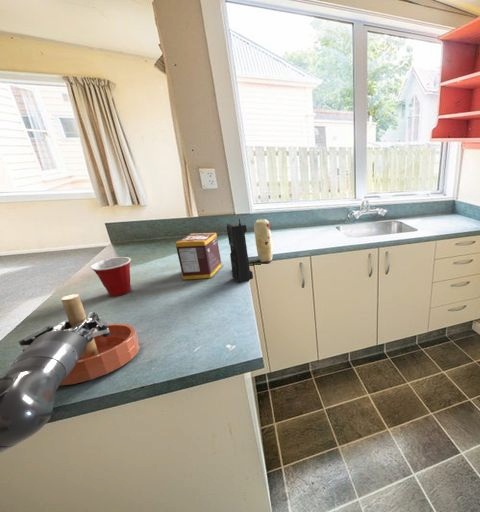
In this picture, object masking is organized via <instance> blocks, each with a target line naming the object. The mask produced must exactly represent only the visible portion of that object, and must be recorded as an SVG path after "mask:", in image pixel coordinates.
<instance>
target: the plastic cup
mask: <svg viewBox="0 0 480 512" xmlns="http://www.w3.org/2000/svg"><path fill="white" fill-rule="evenodd" d="M131 260H132V258H131V257H127V256H116V257H110V258H106V259H102V260H99V261H97V262H94V263H92V264H91V265H90V266H89V268H90V269H91V270H92V271H93V272H94V273H95V274H96V276H97V277H98V278H99V280H100V282H101V284H102V286H103V287H104V288H105V290H106V292H107V294H109V296H111V297H119V296H123V295H127V294H129V293H130V292H131V287H132V286H131Z"/></svg>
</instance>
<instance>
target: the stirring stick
mask: <svg viewBox="0 0 480 512" xmlns="http://www.w3.org/2000/svg"><path fill="white" fill-rule="evenodd" d="M60 301H61V304H62V307H63V310H64V313H65V316H66V319H67V318H68V321H69V324H70V326H71V328H72V327H74V326H75V325H76V324H77V323H79V322H83V321H84V320H85V318H86V317H87V315H86V311H85V309H84V305H83V302H82V299H81V297H80V294H69V295H65V296H63V297H61V298H60ZM98 354H99V353H98V350H97V347H96V344H95V341H94V338H93V340H92V341H91V342H89V343H87V345H86V349H85V351H84V353H83V354H82V356H81V357H82V360H83V359H86V358H89V357H92V356H95V355H98Z"/></svg>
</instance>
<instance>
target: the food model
mask: <svg viewBox="0 0 480 512" xmlns="http://www.w3.org/2000/svg"><path fill="white" fill-rule="evenodd" d="M253 231H254V240H255V246H256V253H257V257H258V261H260V262H261V263H263V262H271V261H273V240H272V232H271V226H270V221H269V220H267V219H266V218H259V219H257V220H256V221H254V223H253Z"/></svg>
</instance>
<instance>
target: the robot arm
mask: <svg viewBox="0 0 480 512" xmlns="http://www.w3.org/2000/svg"><path fill="white" fill-rule="evenodd" d="M95 328H96V329H95ZM93 329H95V330H94V331H93V332H91V331H92V330H93ZM101 335H102V336H103V337H107V336H109V335H110V332H109V328H108V325H107V322H106V321H105V320H104V318H102V317H99V315H98V313H96V312H95V311H92V312H91V311H90V312H89V313H88V314H87V315H86V318H85V320H84V321H83V322H79V323H77V324H76V325H75V326H74V327H72V328H71V326H70V324H69V321H68V318H67V317H66V318H65V319H64V320H63V321H62V322H60V323H58V324H57V325H56V326H54V327H53V325H48V326H45V327H44V328H41V329H39V330H38V331H36V332H33V333H32V334H30V335H29V336H27V337H24V338H22V339H20V340H19V341H18V344H19V346H20V349H21V351H22V352H21V353H20V354H19V355H18V356H17V357H16V359H15V360H14V361H13V363H12V364H11V365H10V366H9V368H8V369H7V370H6V371H5V372H4V373H3V374H2V375H1V376H0V455H1V454H2V453H4V452H6V451H8V450H10V449H12V448H13V447H15V446H17V445H19V444H20V443H22V442H24V441H25V440H28V439H30V438H31V437H33V436H34V435H36V434H37V433H38V432H39V431H40V430H42V429H43V427H44V426H46V424H47V423H48V422H49V420H50V419H51V417H52V415H53V413H54V405H55V397H56V391H57V390H58V388H59V386H61V385H60V384H61V382H62V381H63V380H64V379H65V378H66V377H67V376H68V375H69V373H70V372H71V371H72V369H73V368H74V366H75V365H76V363H77V362H78V360H79V359H80V357H81V356H82V354H83V353H84V351H85V349H86V345H87V343H89V342H91V341H92V340H93V338H94V337H96V336H101Z"/></svg>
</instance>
